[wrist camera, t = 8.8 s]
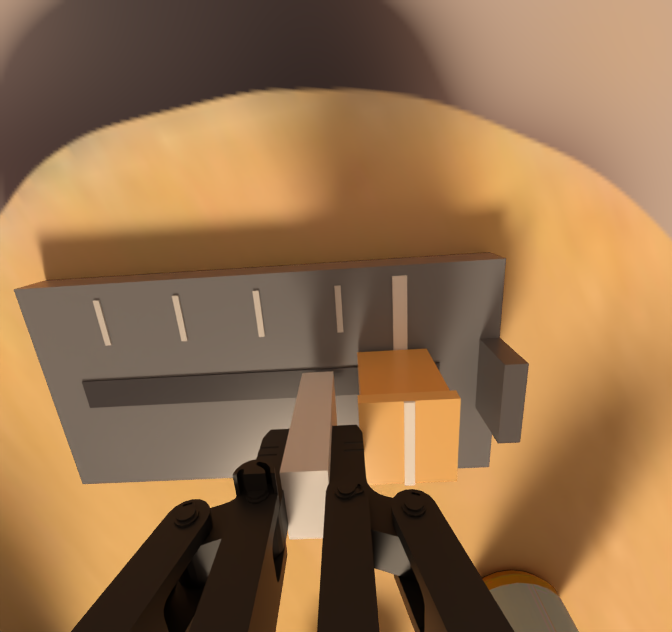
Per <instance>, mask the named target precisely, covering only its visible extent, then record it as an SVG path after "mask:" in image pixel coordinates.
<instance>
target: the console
mask: <svg viewBox="0 0 672 632" xmlns="http://www.w3.org/2000/svg"><path fill="white" fill-rule="evenodd" d="M505 264H506V258H503V257H500V256H498V255H495V254H492V253H490V252H488V253H472V254H457V255H441V256H425V257H409V258H393V259H378V260H362V261H346V262H330V263H315V264H299V265H283V266H267V267H251V268H236V269H220V270H204V271H188V272H173V273H157V274H141V275H125V276H110V277H94V278H78V279H62V280H46V281H42V282H38V283H35V284H31V285H28V286H24V287H21V288H17V289H14V292H15V295H16V297H17V300H18V303H19V306H20V309H21V312H22V314H23V317H24V320H25V323H26V326H27V328H28V331H29V334H30V337H31V340H32V342H33V345H34V348H35V351H36V354H37V357H38V359H39V362H40V365H41V368H42V371H43V373H44V376H45V379H46V382H47V385H48V387H49V390H50V393H51V396H52V399H53V402H54V404H55V407H56V410H57V413H58V416H59V418H60V421H61V424H62V427H63V430H64V432H65V435H66V438H67V441H68V444H69V447H70V449H71V452H72V455H73V458H74V461H75V463H76V466H77V469H78V472H79V475H80V477H81V480H82V483H83V484H97V483H121V482H145V481H169V480H192V479H216V478H233V473H234V472H235V470H236V469H237V468H238V467H239V466H240V465H242V464H243V463H245V462H248V461H250V460H255V459H256V458H257V455H258V452H259V449H260V445H261V442H262V439H263V437H264V436H265V435H266V434H267V433H268V432H269V431H270V430H273V429H290V425H291V420H292V416H293V412H294V407H295V403H296V399H297V394H298V390H299V385H300V381H301V377H302V373H312V372H331V371H333V375H334V388H335V400H336V413H337V426H338V425H357V426H358V427H359V414H358V396H357V395H359V379H358V360H357V352H372V351H390V350H409V349H427V350H428V352H429V354H430V355H431V357H432V359H433V361H434V363H435V364H436V366H437V368H438V370H439V372H440V373H441V375H442V377H443V379H444V381H445V382H446V384H447V386H448V388H449V390H450V391H451V390H456V391H457V393H458V395H459V396H460V398H461V405H460V426H459V447H458V468H478V467H489V462H490V450H491V437H492V435H493V436H494V438H495V439H496V441H497V443H517V442H520V438H521V429H522V420H523V411H524V402H525V393H526V384H527V375H528V366H529V363H527V362H526V361H525V360H524V359H523V358H522V357H521V356H520V355H518V354H517V353H516V352H515V351H514V350H513V349H512V348H511V347H510V346H508V345H507V344H506V343H505V342H504V341H503V340H502V339H501V338H500V326H501V314H502V301H503V289H504V277H505Z"/></svg>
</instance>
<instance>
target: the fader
mask: <svg viewBox="0 0 672 632" xmlns="http://www.w3.org/2000/svg"><path fill="white" fill-rule="evenodd" d="M357 360H358V379H359V395H357V396H358V414H359V428H360V430H361V431H362V433H363V445H364V457H365V469H366V479H367V483H368V484H369V485H376V484H401V483H405V486H407V485H415V483H425V482H450V481H457V468H458V447H459V426H460V405H461V398H460V396H459V395H458V393H457V391H456V390H451V391H450V390H449V388H448V386H447V384H446V382H445V381H444V379H443V377H442V375H441V373H440V372H439V370H438V368H437V366H436V364H435V363H434V361H433V359H432V357H431V355H430V354H429V352H428V350H427V349H409V350H390V351H372V352H357Z"/></svg>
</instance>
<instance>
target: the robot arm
mask: <svg viewBox="0 0 672 632" xmlns="http://www.w3.org/2000/svg"><path fill="white" fill-rule="evenodd" d="M233 480H234V485H235V490H236V495H237V496H236V498H235V499H234V500H232V501H230V502H228V503H225V504H222V505H219V506H216V507H212V508H210V507H209V505H208V504H207V502H205V501H203V500H200V499H192V500H189V501H185V502H183V503H181V504H179V505H178V506H176V507H175V508H174V509H172V510H171V511H170V512H169V513H168V514H167V516H166V517H165V518H164V519H163V520H162V522H161V523H160V524H159V525H158V527H157V528H156V529H155V530H154V531H153V533H152V534H151V535H150V536H149V537H148V539H147V540H146V541H145V542H144V544H143V545H142V546H141V547H140V548H139V550H138V551H137V552H136V553H135V554H134V556H133V557H132V558H131V559H130V560H129V562H128V563H127V564H126V565H125V567H124V568H123V569H122V570H121V571H120V573H119V574H118V575H117V576H116V577H115V579H114V580H113V581H112V582H111V584H110V585H109V586H108V587H107V588H106V590H105V591H104V592H103V593H102V594H101V596H100V597H99V598H98V599H97V601H96V602H95V603H94V604H93V605H92V607H91V608H90V609H89V610H88V611H87V613H86V614H85V615H84V616H83V617H82V619H81V620H80V621H79V622H78V624H77V625H76V626H75V627H74V628H73V630H72V631H71V632H276V625H277V618H278V612H279V605H280V599H281V592H282V586H283V579H284V573H285V566H286V559H287V547H286V537H287V531H288V534H289V539H314V538H323V545H322V561H321V578H320V594H319V611H318V627H317V632H379V622H378V610H377V597H376V585H375V573H374V568H376V569H379V570H382V571H385V572H388V573H391V574H394V578H395V580H396V583H397V586H398V588H399V591H400V593H401V596H402V599H403V601H404V604H405V607H406V609H407V612H408V615H409V617H410V620H411V622H412V625H413V628H414V630H415V632H514V630H513V628H512V627H511V625H510V623H509V622H508V620H507V619H506V617H505V615H504V614H503V612H502V610H501V609H500V607H499V605H498V604H497V602H496V601H495V599H494V597H493V596H492V594H491V592H490V591H489V589H488V587H487V586H486V584H485V583H484V581H483V579H482V578H481V576H480V574H479V573H478V571H477V570H476V568H475V566H474V565H473V563H472V561H471V560H470V558H469V556H468V555H467V553H466V552H465V550H464V548H463V547H462V545H461V543H460V542H459V540H458V539H457V537H456V535H455V534H454V532H453V530H452V529H451V527H450V525H449V524H448V522H447V521H446V519H445V517H444V516H443V514H442V512H441V511H440V509H439V507H438V506H437V504H436V503H435V501H434V500H433V499H432V498H431V497H430V496H429V495H428V494H426V493H424V492H422V491H419V490H414V489H410V490H404V491H401V492H399V493H397V494H396V496H395V497H394V498H391V497H387V496H383V495H380V494H378V493H377V492H375V491H374V490H373V489H372V488H370V486H369V484H368V483H367V479H366V469H365V457H364V445H363V433H362V431H361V430H360V428H359V427H358V426H357V425H338V426H337V413H336V400H335V388H334V375H333V371H331V372H312V373H302V377H301V381H300V385H299V390H298V394H297V399H296V403H295V407H294V412H293V416H292V420H291V425H290V429H273V430H270V431H269V432H268V433H267V434H266V435H265V436H264V437H263V439H262V442H261V445H260V449H259V452H258V455H257V458H256V459H255V460H250V461H248V462H245V463H243V464H242V465H240V466H239V467H238V468H237V469H236V470H235V472H234V473H233Z"/></svg>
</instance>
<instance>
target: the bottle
mask: <svg viewBox="0 0 672 632" xmlns="http://www.w3.org/2000/svg"><path fill="white" fill-rule="evenodd" d="M482 579H483V581H484V583H485V584H486V586H487V587H488V589H489V591H490V592H491V594H492V596H493V597H494V599H495V601H496V602H497V604H498V605H499V607H500V609H501V610H502V612H503V614H504V615H505V617H506V619H507V620H508V622H509V623H510V625H511V627H512V628H513V630H514V632H579V631H578V630H577V628H576V626H575V624H574V622H573V620H572V618H571V617H570V615H569V613H568V611H567V609H566V607H565V606H564V604H563V602H562V600H561V599H560V597H559V596H558V594H557V592H556V590H555V589H554V587H553V586H551V585H550V584H549V583H547V582H546V581H544V580H543V579H541V578H539V577H537V576H535V575H533V574H530V573H527V572H524V571H514V570H508V571H502V572H496V573H494V574H491V575H488V576H486V577H484V578H482Z"/></svg>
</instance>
